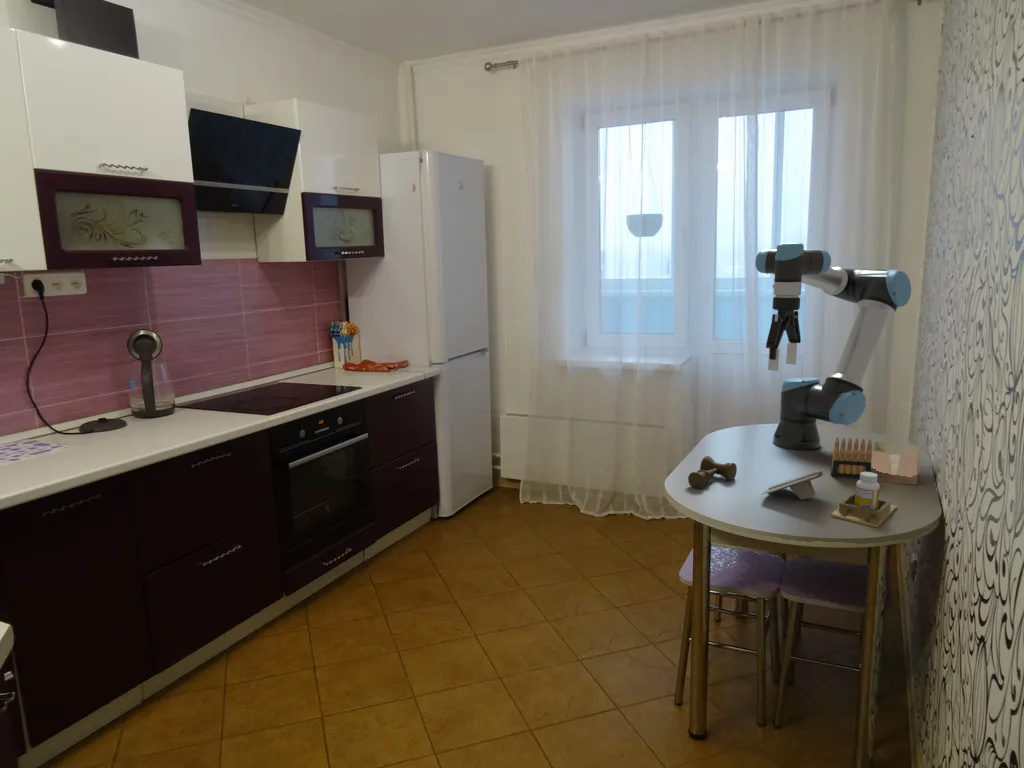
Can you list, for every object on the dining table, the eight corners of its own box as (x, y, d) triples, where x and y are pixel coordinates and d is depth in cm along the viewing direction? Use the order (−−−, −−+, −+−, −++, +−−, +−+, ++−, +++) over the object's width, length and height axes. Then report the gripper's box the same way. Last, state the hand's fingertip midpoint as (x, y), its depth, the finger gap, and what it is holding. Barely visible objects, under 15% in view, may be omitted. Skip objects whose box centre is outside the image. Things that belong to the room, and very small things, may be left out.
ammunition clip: (831, 476, 207) (834, 437, 204) (830, 474, 209) (833, 436, 206) (870, 479, 204) (874, 440, 202) (869, 477, 206) (873, 438, 203)
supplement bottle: (867, 505, 182) (870, 469, 181) (882, 512, 177) (885, 476, 175) (849, 507, 181) (852, 471, 179) (864, 514, 176) (867, 478, 174)
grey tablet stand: (779, 522, 184) (829, 492, 177) (759, 494, 186) (807, 464, 180) (790, 511, 198) (836, 483, 192) (771, 485, 200) (816, 457, 194)
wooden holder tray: (852, 498, 189) (853, 489, 189) (896, 507, 182) (897, 498, 181) (830, 516, 177) (831, 506, 177) (877, 527, 170) (878, 517, 169)
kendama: (679, 487, 202) (713, 468, 216) (709, 495, 195) (743, 476, 209) (680, 467, 200) (714, 450, 214) (710, 475, 194) (744, 457, 208)
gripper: (790, 293, 216) (785, 360, 220) (756, 298, 198) (752, 371, 202) (815, 294, 211) (810, 362, 215) (782, 299, 193) (778, 374, 197)
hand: (782, 367), depth 209 cm, fingers open, 13 cm apart
